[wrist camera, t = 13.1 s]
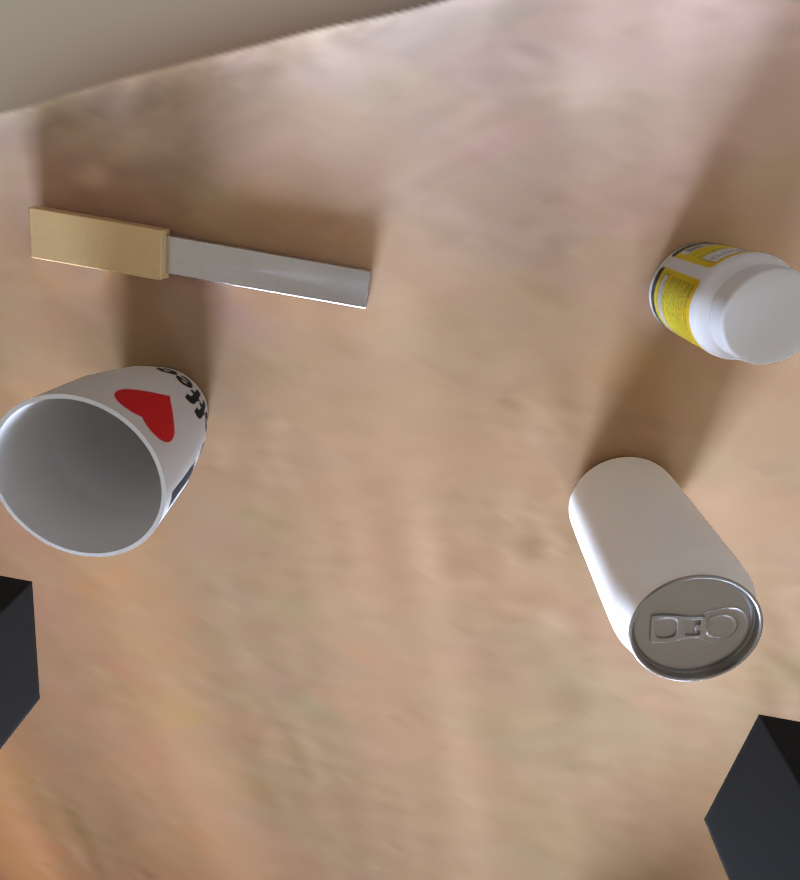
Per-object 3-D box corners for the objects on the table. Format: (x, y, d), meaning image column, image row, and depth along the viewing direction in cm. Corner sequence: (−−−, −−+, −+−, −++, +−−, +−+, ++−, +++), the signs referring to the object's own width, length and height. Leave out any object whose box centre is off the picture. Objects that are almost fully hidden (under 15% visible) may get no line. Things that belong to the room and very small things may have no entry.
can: (672, 545, 39) (764, 687, 28) (566, 551, 40) (616, 691, 29) (679, 449, 37) (783, 563, 26) (567, 457, 37) (621, 570, 26)
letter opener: (372, 264, 34) (370, 267, 33) (366, 312, 35) (363, 316, 34) (41, 205, 34) (28, 206, 33) (44, 255, 35) (30, 257, 34)
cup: (249, 457, 39) (190, 543, 29) (127, 479, 40) (33, 568, 30) (208, 328, 36) (127, 378, 27) (77, 355, 37) (-44, 412, 28)
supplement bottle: (687, 350, 35) (760, 397, 27) (628, 293, 34) (685, 325, 26) (759, 282, 33) (858, 311, 25) (699, 221, 32) (782, 232, 24)
